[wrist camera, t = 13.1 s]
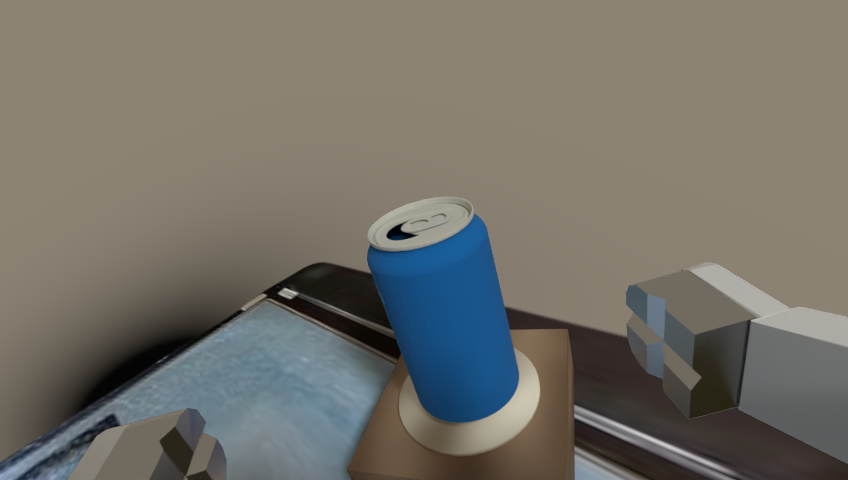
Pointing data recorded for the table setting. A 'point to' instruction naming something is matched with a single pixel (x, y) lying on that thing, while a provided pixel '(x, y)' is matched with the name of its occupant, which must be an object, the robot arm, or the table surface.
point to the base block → (479, 425)
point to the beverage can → (445, 307)
